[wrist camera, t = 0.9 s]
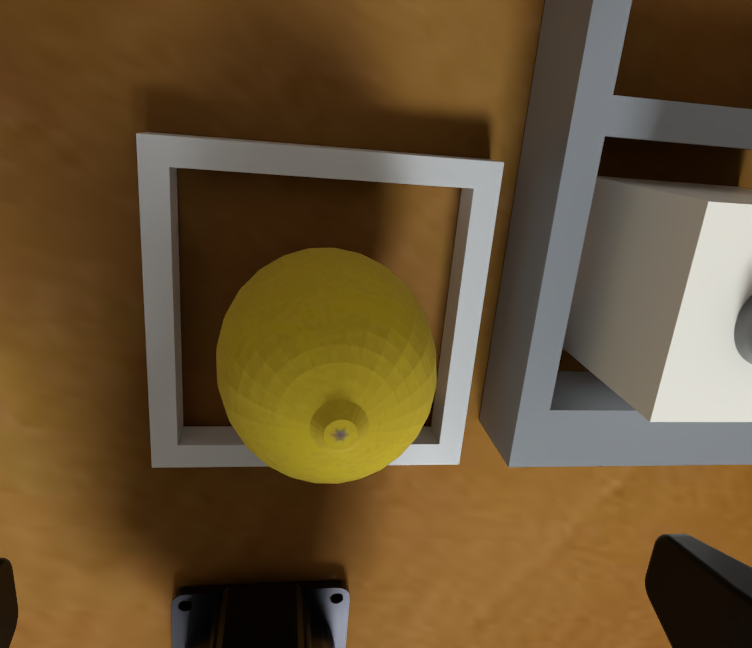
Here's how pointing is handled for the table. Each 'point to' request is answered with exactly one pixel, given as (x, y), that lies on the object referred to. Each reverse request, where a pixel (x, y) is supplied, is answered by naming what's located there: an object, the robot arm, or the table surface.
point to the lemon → (326, 365)
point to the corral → (263, 157)
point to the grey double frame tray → (563, 252)
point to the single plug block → (667, 298)
